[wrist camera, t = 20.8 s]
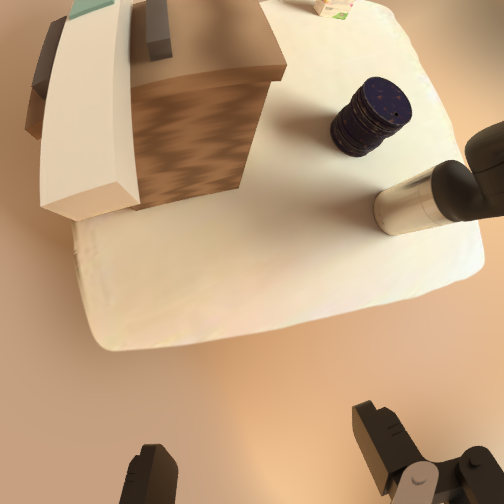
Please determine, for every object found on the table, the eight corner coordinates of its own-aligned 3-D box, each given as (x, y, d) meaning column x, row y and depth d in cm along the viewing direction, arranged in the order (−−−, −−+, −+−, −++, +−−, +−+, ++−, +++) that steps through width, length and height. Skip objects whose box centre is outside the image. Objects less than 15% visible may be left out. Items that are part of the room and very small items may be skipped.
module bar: (134, -14, 15) (128, -46, 11) (140, 203, 14) (113, 178, 10) (95, -2, 15) (85, -32, 10) (77, 221, 14) (35, 204, 9)
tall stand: (228, 134, 48) (254, -28, 14) (241, 190, 48) (294, 46, 14) (127, 156, 45) (39, 23, 12) (133, 214, 45) (10, 117, 11)
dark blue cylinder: (322, 117, 51) (353, 75, 36) (360, 113, 52) (396, 77, 37) (340, 161, 51) (379, 127, 36) (379, 154, 52) (421, 124, 37)
